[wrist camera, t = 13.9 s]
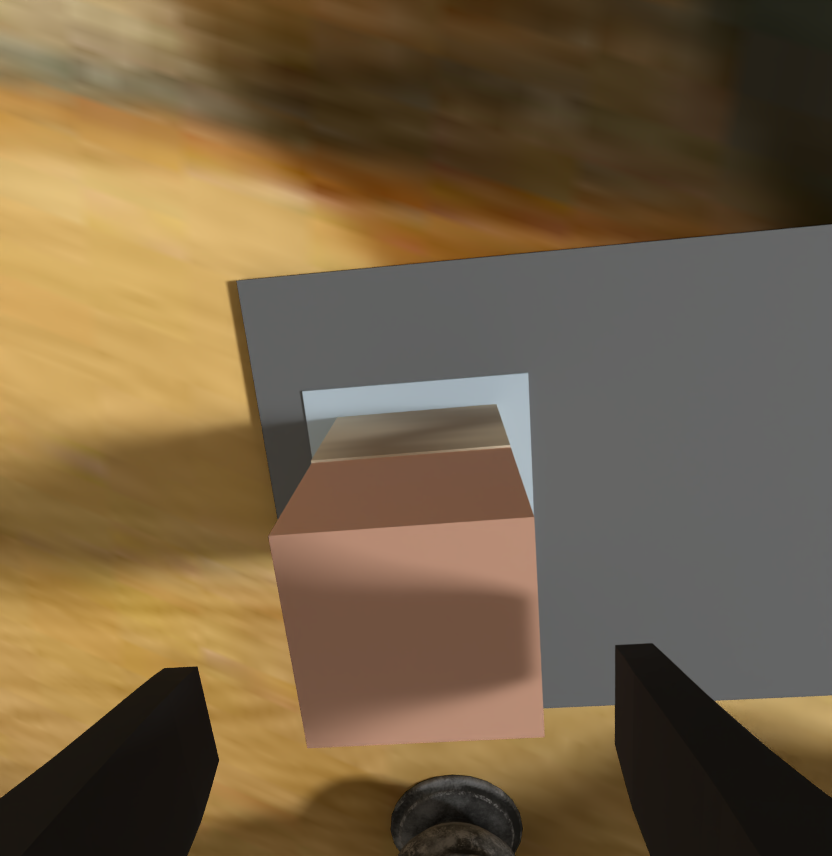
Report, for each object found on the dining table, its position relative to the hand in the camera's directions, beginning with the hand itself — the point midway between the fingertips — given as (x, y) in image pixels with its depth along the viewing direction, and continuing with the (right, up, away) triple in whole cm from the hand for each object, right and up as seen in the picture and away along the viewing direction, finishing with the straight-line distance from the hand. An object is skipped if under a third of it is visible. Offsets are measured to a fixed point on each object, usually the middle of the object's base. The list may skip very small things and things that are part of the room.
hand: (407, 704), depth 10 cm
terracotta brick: (0, +2, +5) cm, 6 cm away
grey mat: (+6, +2, +10) cm, 11 cm away
